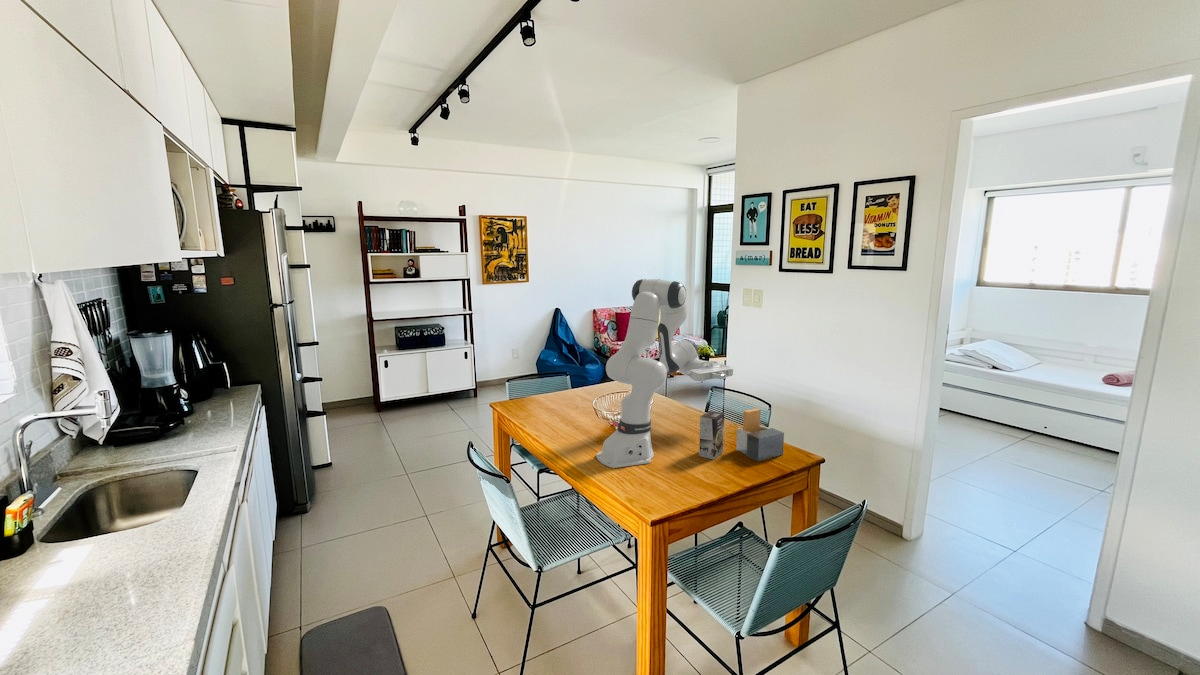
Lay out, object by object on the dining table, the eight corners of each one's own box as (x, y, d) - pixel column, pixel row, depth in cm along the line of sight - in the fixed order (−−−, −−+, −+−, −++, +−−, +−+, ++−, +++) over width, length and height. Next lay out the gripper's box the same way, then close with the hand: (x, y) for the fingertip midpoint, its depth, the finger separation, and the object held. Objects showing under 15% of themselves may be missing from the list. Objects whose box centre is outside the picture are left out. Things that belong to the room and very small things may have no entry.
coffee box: (714, 460, 185) (715, 419, 182) (698, 456, 189) (699, 416, 186) (723, 452, 192) (725, 412, 190) (708, 448, 196) (709, 410, 193)
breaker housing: (758, 461, 183) (759, 438, 182) (734, 450, 194) (735, 428, 193) (782, 454, 189) (784, 432, 188) (758, 444, 200) (759, 423, 198)
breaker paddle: (746, 437, 192) (747, 412, 190) (742, 435, 194) (743, 411, 192) (759, 433, 195) (760, 409, 193) (755, 432, 197) (756, 408, 195)
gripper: (683, 366, 212) (704, 372, 200) (720, 361, 222) (742, 367, 210) (683, 380, 213) (704, 387, 201) (719, 374, 223) (741, 381, 211)
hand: (723, 377), depth 206 cm, fingers closed
